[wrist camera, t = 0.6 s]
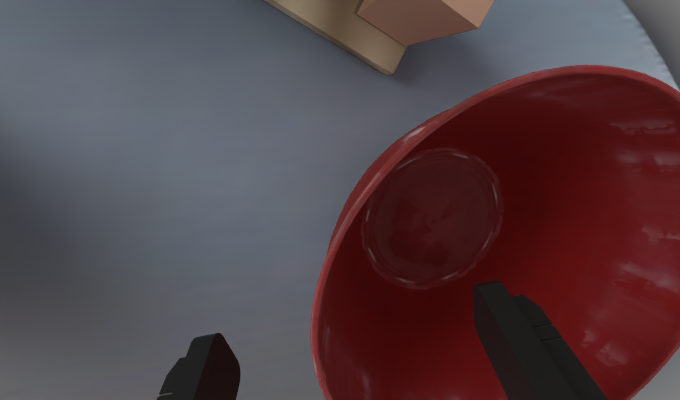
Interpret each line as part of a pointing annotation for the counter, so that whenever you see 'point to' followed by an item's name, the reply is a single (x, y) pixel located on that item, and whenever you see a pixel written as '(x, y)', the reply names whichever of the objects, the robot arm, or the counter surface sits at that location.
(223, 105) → the counter surface
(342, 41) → the board
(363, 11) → the key
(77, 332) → the counter surface
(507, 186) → the mixing bowl
